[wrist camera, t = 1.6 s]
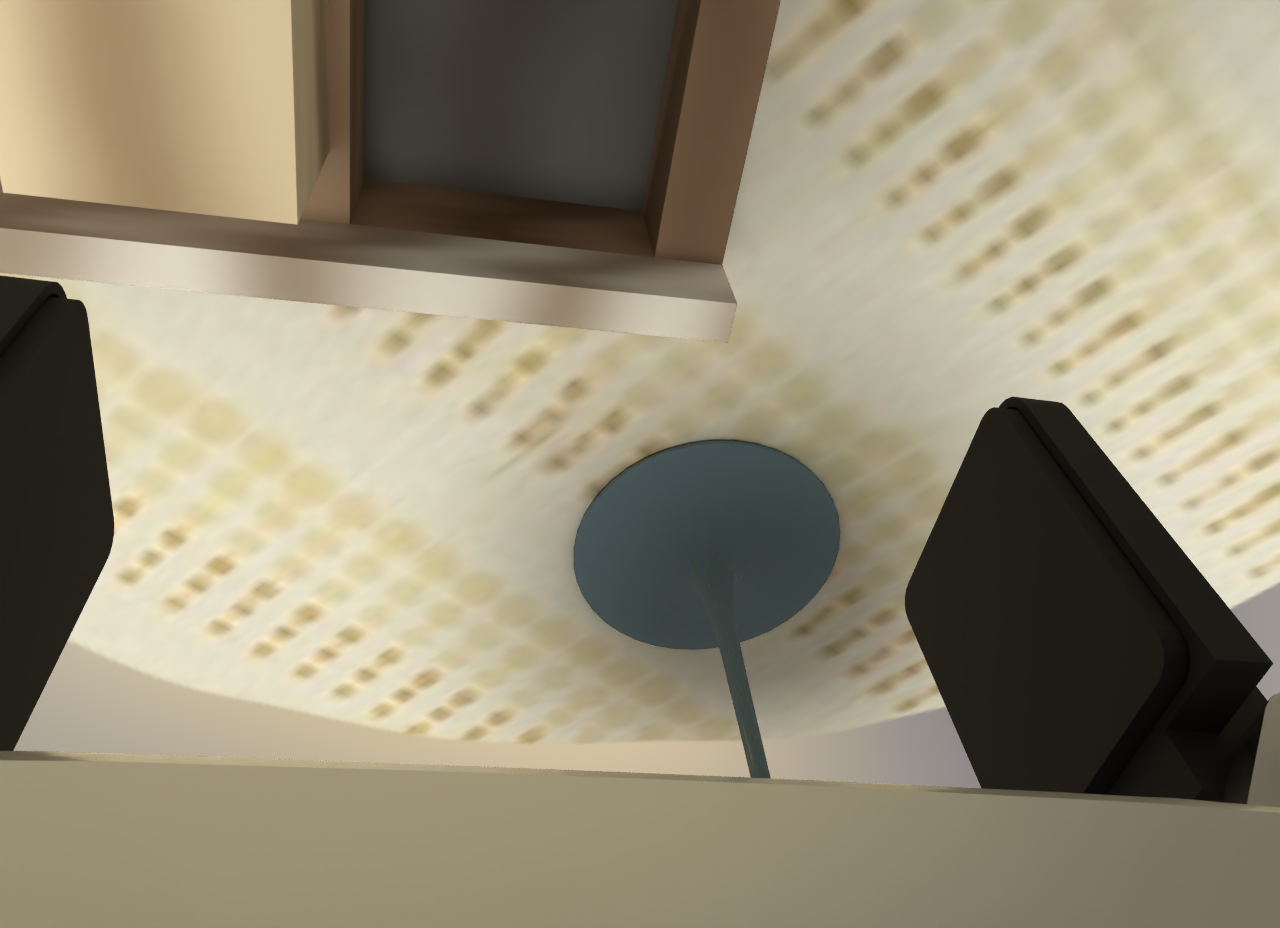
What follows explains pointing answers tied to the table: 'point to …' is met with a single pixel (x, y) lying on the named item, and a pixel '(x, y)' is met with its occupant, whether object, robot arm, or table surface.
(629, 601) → the cocktail glass
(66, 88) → the maple block
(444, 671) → the table surface
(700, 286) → the trap deck
